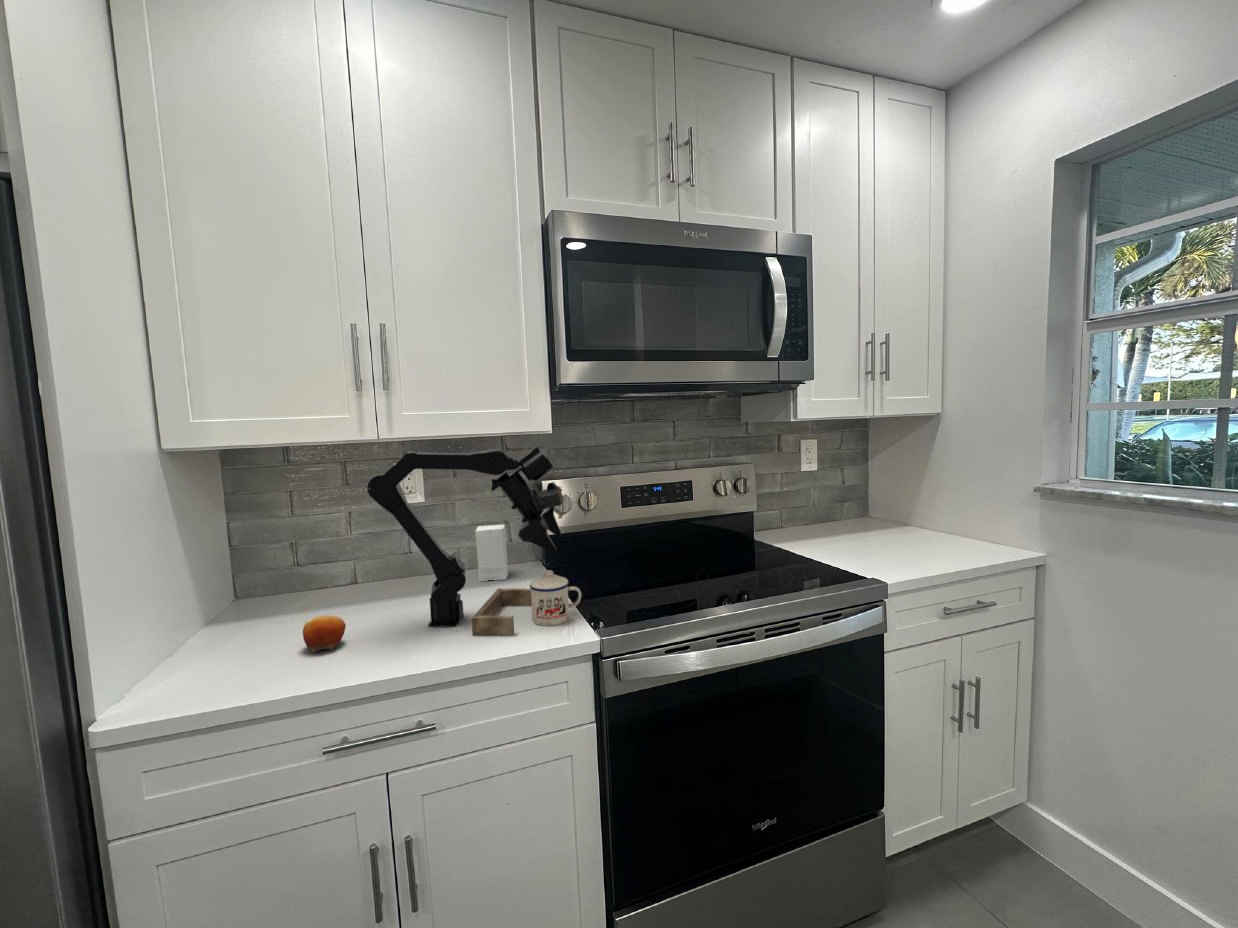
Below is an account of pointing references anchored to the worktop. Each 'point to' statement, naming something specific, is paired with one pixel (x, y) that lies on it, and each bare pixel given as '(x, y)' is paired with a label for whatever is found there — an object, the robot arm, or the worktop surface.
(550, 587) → the teacup with lid
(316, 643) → the fruit
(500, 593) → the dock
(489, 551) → the skincare box
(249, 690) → the worktop surface
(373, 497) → the robot arm
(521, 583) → the worktop surface
